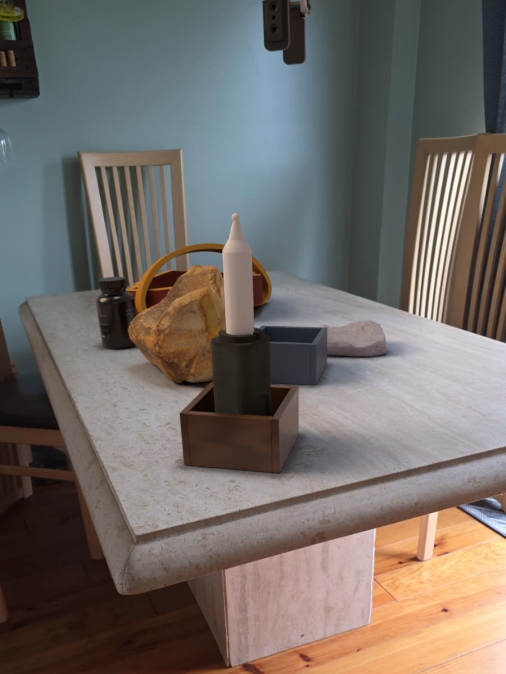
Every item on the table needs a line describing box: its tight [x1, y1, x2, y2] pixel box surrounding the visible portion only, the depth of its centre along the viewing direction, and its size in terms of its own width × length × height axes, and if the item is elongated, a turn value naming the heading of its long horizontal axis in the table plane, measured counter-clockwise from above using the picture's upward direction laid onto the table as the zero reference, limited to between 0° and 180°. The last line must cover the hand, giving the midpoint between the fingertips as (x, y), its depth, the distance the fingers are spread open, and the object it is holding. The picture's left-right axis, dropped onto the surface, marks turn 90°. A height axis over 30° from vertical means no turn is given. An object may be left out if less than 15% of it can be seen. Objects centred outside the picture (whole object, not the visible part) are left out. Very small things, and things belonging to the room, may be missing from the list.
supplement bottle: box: [95, 276, 136, 350], centre depth 112 cm, size 7×7×12 cm
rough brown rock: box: [128, 264, 226, 384], centre depth 97 cm, size 23×17×15 cm
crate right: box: [258, 325, 328, 386], centre depth 95 cm, size 11×11×6 cm
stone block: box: [317, 320, 388, 357], centre depth 106 cm, size 12×5×10 cm
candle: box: [211, 212, 272, 416], centre depth 65 cm, size 5×5×25 cm
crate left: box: [179, 381, 300, 474], centre depth 69 cm, size 11×11×6 cm
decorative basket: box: [126, 242, 273, 316], centre depth 136 cm, size 34×29×15 cm
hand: (286, 57), depth 59 cm, fingers open, 8 cm apart
